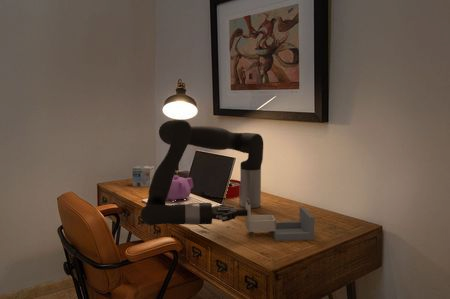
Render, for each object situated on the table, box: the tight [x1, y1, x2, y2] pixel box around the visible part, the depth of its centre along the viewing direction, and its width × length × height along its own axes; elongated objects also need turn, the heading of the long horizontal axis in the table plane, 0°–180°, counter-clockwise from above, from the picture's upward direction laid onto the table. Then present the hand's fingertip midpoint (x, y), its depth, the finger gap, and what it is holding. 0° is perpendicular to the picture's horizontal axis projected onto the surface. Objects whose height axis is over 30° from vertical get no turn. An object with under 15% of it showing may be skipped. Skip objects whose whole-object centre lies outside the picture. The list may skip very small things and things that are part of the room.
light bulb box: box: [131, 165, 155, 188], centre depth 223 cm, size 11×7×11 cm, turn 81°
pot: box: [166, 174, 194, 201], centre depth 193 cm, size 18×17×12 cm
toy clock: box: [226, 178, 240, 199], centre depth 204 cm, size 20×6×20 cm
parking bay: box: [272, 206, 315, 242], centre depth 145 cm, size 13×14×8 cm
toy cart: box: [245, 197, 277, 236], centre depth 144 cm, size 7×10×13 cm
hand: (246, 212), depth 143 cm, fingers closed
